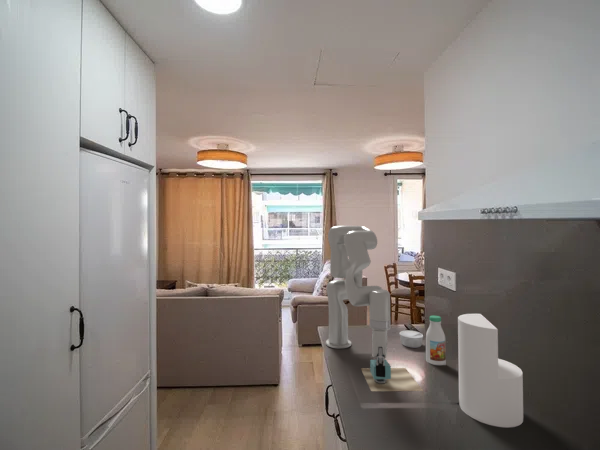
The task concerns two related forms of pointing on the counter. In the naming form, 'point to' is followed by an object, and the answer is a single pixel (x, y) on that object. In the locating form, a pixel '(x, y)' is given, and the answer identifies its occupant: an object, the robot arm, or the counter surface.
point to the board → (393, 381)
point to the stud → (380, 381)
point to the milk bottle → (435, 342)
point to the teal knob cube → (373, 369)
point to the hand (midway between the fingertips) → (380, 370)
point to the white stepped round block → (487, 375)
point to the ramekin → (411, 338)
